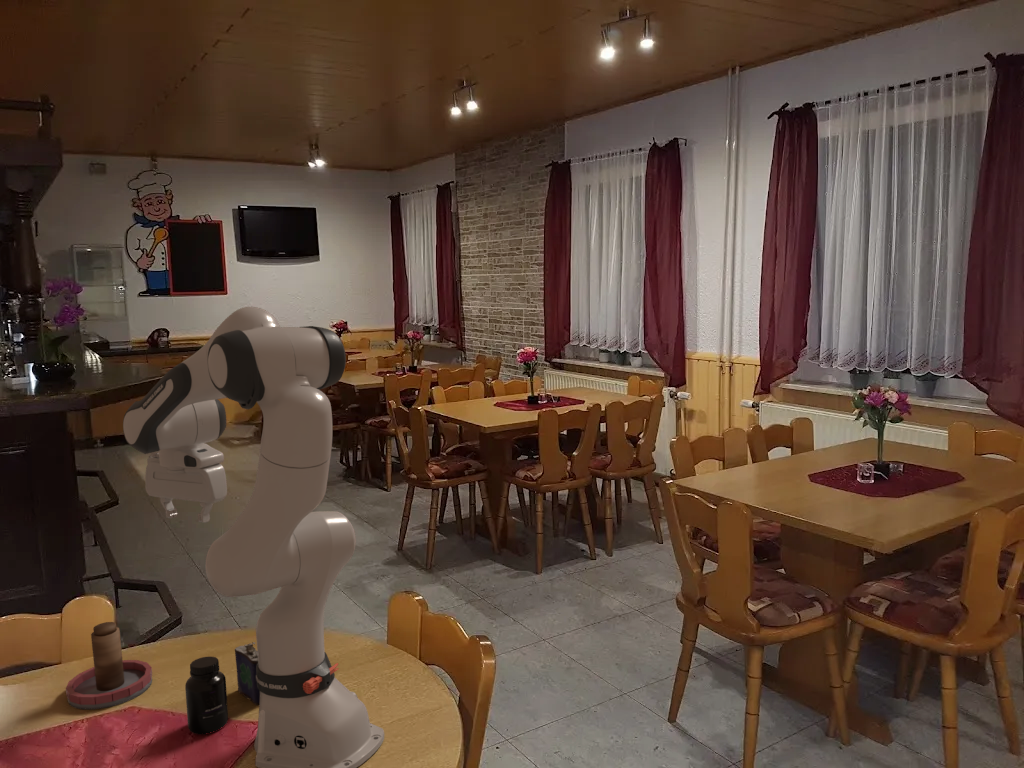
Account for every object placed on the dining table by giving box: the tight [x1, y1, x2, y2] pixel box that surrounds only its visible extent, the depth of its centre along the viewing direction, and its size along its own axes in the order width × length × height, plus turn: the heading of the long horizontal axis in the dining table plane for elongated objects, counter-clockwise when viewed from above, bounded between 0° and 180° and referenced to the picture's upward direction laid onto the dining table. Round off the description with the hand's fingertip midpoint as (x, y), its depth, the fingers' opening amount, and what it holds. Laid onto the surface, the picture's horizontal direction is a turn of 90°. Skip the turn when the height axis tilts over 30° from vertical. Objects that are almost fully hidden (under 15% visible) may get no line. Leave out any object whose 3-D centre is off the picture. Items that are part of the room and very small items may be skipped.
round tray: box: [65, 659, 153, 711], centre depth 155 cm, size 15×15×2 cm
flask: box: [234, 641, 260, 707], centre depth 150 cm, size 9×3×11 cm, turn 45°
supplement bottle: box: [184, 656, 229, 735], centre depth 140 cm, size 7×7×12 cm
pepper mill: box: [90, 621, 125, 691], centre depth 154 cm, size 5×5×12 cm
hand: (187, 519), depth 163 cm, fingers open, 8 cm apart
